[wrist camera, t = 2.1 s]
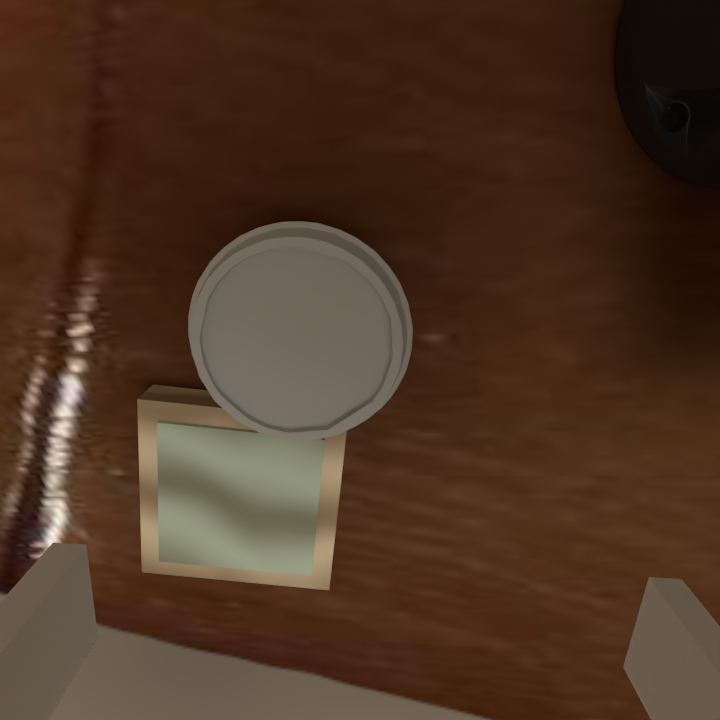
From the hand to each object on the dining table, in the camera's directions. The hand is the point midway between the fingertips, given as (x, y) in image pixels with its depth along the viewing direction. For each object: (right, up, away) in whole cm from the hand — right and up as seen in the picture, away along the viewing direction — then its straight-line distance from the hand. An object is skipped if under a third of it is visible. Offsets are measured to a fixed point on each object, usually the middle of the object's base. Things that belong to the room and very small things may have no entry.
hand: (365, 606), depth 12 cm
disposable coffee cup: (-3, +10, +20) cm, 23 cm away
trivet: (-8, -3, +24) cm, 26 cm away
